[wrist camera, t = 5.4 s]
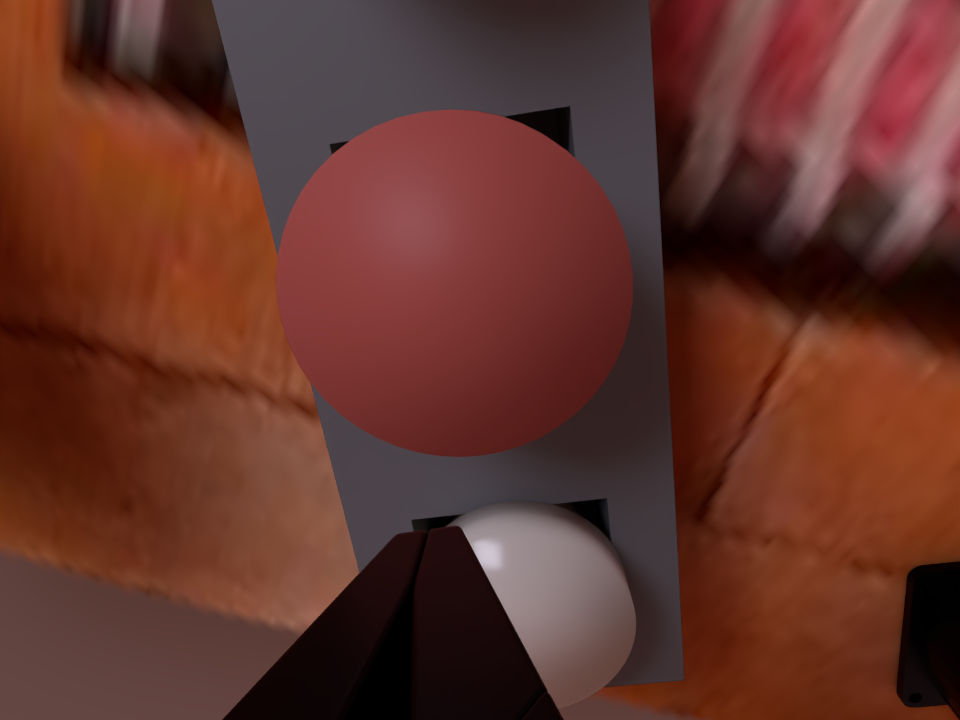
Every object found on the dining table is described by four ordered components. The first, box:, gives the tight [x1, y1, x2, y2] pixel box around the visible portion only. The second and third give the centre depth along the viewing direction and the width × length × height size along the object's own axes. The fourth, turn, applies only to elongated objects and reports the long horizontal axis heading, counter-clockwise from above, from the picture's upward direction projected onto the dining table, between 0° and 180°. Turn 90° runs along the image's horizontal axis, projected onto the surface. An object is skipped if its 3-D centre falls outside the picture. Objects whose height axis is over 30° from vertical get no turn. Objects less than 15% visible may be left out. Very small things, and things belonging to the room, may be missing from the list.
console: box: [212, 0, 684, 687], centre depth 18 cm, size 28×9×5 cm, turn 8°
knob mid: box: [276, 110, 633, 457], centre depth 14 cm, size 6×6×6 cm
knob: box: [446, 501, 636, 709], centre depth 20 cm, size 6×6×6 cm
